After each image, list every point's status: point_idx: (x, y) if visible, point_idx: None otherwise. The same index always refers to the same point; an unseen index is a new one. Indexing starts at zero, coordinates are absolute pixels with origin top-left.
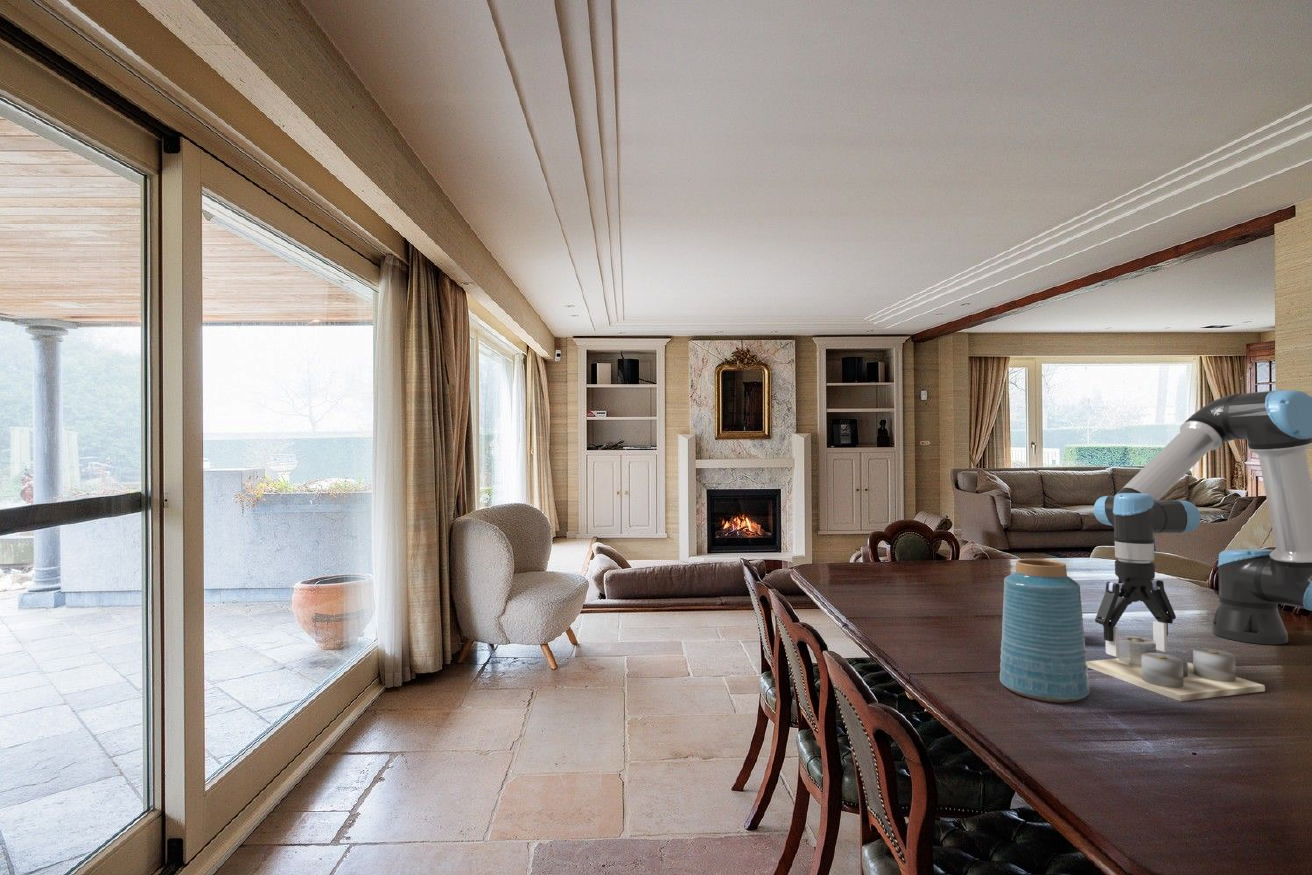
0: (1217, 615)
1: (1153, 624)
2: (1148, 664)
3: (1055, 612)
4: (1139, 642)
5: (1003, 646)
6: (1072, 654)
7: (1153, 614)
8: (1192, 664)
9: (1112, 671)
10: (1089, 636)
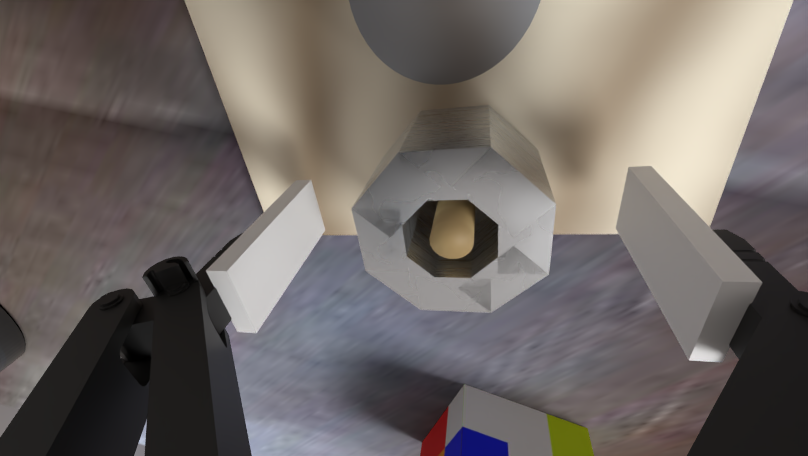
0: None
1: (267, 312)
2: None
3: None
4: (485, 193)
5: None
6: None
7: (232, 365)
8: (238, 95)
9: (764, 71)
10: (352, 414)
